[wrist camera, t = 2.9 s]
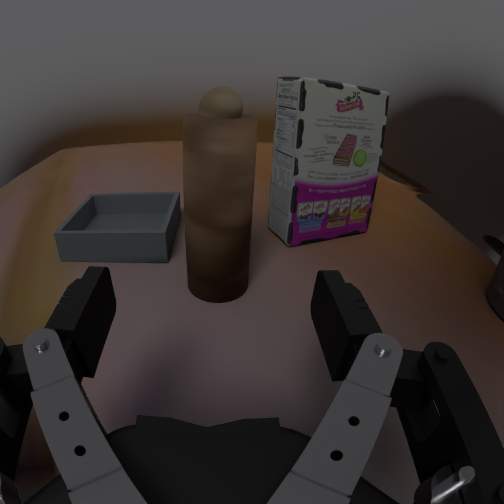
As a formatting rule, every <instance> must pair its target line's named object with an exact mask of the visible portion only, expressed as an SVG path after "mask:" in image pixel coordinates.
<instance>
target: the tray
mask: <svg viewBox="0 0 504 504" xmlns="http://www.w3.org/2000/svg"><path fill="white" fill-rule="evenodd" d="M180 217H181V213H180V192H145V193H110V194H90V195H89V197H88V198H87V199H86V200H85V201H84V202H83V203H82V204H81V205H80V206H79V207H78V208H77V209H76V210H75V211H74V212H73V213H72V214H71V215H70V216H69V217H68V218H67V220H66V221H65V222H64V223H63V224H62V225H61V226H60V227H59V228H58V229H57V231H56V232H55V233H54V235H55V240H56V244H57V248H58V252H59V256H60V259H61V261H84V262H141V263H168V260H169V257H170V253H171V249H172V245H173V242H174V238H175V235H176V231H177V227H178V224H179V220H180Z"/></svg>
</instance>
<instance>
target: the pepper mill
mask: <svg viewBox="0 0 504 504" xmlns="http://www.w3.org/2000/svg"><path fill="white" fill-rule="evenodd" d="M242 111H243V102H242V100H241V97H240V96H239V95H238V93H236V92H235V91H234V90H232V89H230V88H227V87H216V88H213V89H211V90H209V91H208V92H206V93H205V94H204V96H203V97H202V99H201V101H200V105H199V112H200V114H192V115H186V116H184V117H183V185H184V218H185V241H186V260H187V276H188V287H189V290H190V292H191V293H192V294H193V295H194V296H195V297H197V298H199V299H201V300H204V301H207V302H213V303H222V302H229V301H232V300H235V299H237V298H239V297H241V296H242V295H243V294H244V293H245V292H246V290H247V287H248V272H249V256H250V240H251V224H252V208H253V192H254V177H255V161H256V146H257V130H258V117H255V116H251V115H244V114H242Z"/></svg>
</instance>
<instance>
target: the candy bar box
mask: <svg viewBox="0 0 504 504" xmlns="http://www.w3.org/2000/svg"><path fill="white" fill-rule="evenodd" d="M277 80H278V81H277V97H276V114H275V129H274V149H273V161H272V178H271V192H270V206H269V220H268V228H269V229H270V230H271V231H272V232H273V233H274V234H275V235H276V236H278V237H279V238H280V239H281V240H282V241H283V242H284V243H285V244H286V245H287V246H288V247H293V246H298V245H303V244H308V243H313V242H319V241H323V240H328V239H333V238H338V237H343V236H347V235H352V234H357V233H362V232H366V231H367V230H368V224H369V220H370V215H371V210H372V205H373V200H374V195H375V189H376V184H377V178H378V172H379V166H380V159H381V154H382V147H383V141H384V134H385V133H384V132H385V125H386V118H387V109H388V100H389V93H387V92H385V91H381V90H376V89H372V88H367V87H361V86H356V85H351V84H344V83H339V82H333V81H326V80H320V79H311V78H303V77H278V79H277Z"/></svg>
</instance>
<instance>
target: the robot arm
mask: <svg viewBox="0 0 504 504" xmlns="http://www.w3.org/2000/svg"><path fill="white" fill-rule="evenodd" d="M487 297H488V300H489V302H490V304H491V306H492V307H493V308H494V310H495V311H496V312H497V313H498V315H499V316H500V317H501V318H502V319H503V320H504V250H503V253H502V255H501V258H500V260H499V263H498V265H497V267H496V270H495V272H494V274H493V277H492V279H491V281H490V283H489V285H488V288H487ZM115 312H116V298H115V294H114V289H113V285H112V280H111V275H110V271H109V268H108V267H95V266H90V267H88V268H87V270H86V272H85V273H84V275H83V277H82V279H76V280H75V281H74V282H73V283H71V284H70V285H69V286H68V287H67V289H66V291H65V292H64V294H63V297H61V299H60V301H59V304H57V306H56V308H55V310H54V311H53V313H52V315H51V317H50V319H49V321H48V322H47V324H46V326H45V328H43V329H38V330H36V331H34V332H32V333H31V334H29V335H28V336H27V337H26V339H25V340H24V343H23V344H19V345H12V346H6V345H5V343H4V341H3V340H2V338H1V337H0V504H22V499H21V498H20V495H19V490H18V487H17V485H16V483H15V482H14V479H15V473H16V468H17V464H18V459H19V455H20V450H21V446H22V442H23V438H24V434H25V430H26V426H27V423H28V419H29V416H30V412H31V409H32V406H33V404H34V408H35V411H36V414H37V416H38V419H39V422H40V425H41V428H42V430H43V433H44V436H45V438H46V441H47V443H48V446H49V448H50V451H51V453H52V455H53V458H54V460H55V462H56V465H57V467H58V469H59V471H60V474H59V475H58V476H57V477H55V478H54V479H53V480H52V481H51V482H49V483H48V484H47V485H46V486H44V487H43V488H42V489H41V490H39V491H38V492H37V493H36V494H34V495H33V496H32V497H31V498H29V499H28V500H27V501H26V502H24V503H23V504H399V503H398V502H396V501H395V500H393V499H392V498H390V497H389V496H387V495H386V494H385V493H383V492H382V491H380V490H379V489H378V488H376V487H375V486H373V485H372V484H371V483H369V482H368V481H367V480H365V479H364V478H362V477H361V473H362V471H363V469H364V467H365V465H366V463H367V460H368V458H369V456H370V454H371V451H372V449H373V447H374V444H375V442H376V440H377V437H378V435H379V432H380V430H381V427H382V425H383V422H384V419H385V417H386V414H387V411H388V408H389V406H390V407H396V409H397V411H398V414H399V417H400V420H401V423H402V426H403V429H404V432H405V435H406V438H407V442H408V445H409V448H410V451H411V454H412V458H413V461H414V464H415V467H416V471H417V474H418V478H419V481H420V485H419V486H418V487H417V489H416V491H415V494H414V503H413V504H504V448H503V446H502V444H501V441H500V439H499V437H498V434H497V432H496V430H495V428H494V426H493V423H492V421H491V419H490V417H489V415H488V413H487V411H486V409H485V407H484V405H483V403H482V401H481V399H480V397H479V395H478V393H477V391H476V389H475V387H474V385H473V383H472V381H471V379H470V377H469V376H468V374H467V372H466V370H465V368H464V366H463V365H462V363H461V361H460V359H459V358H458V356H457V354H456V352H455V351H454V350H453V349H452V348H451V347H450V346H448V345H446V344H444V343H441V342H431V343H429V344H427V345H426V347H425V349H424V351H423V352H419V351H412V350H406V349H402V346H401V344H400V343H399V342H398V341H397V340H396V339H395V338H393V337H392V336H390V335H387V334H383V332H382V331H381V329H380V327H379V325H378V323H377V321H376V319H375V317H374V316H373V314H372V312H371V310H370V309H369V306H368V305H367V303H366V302H365V299H364V297H363V296H362V294H361V292H360V291H359V290H358V289H357V288H356V287H355V286H354V285H352V284H351V283H345V281H344V280H343V278H342V276H341V274H340V272H339V271H338V270H320V271H318V273H317V277H316V282H315V286H314V291H313V296H312V300H311V317H312V320H313V323H314V326H315V329H316V332H317V335H318V338H319V341H320V344H321V348H322V351H323V354H324V357H325V360H326V363H327V366H328V369H329V372H330V376H331V379H332V382H334V381H343V383H342V385H341V387H340V389H339V391H338V393H337V395H336V396H335V398H334V400H333V402H332V404H331V405H330V407H329V409H328V411H327V413H326V414H325V416H324V418H323V420H322V421H321V423H320V425H319V426H318V428H317V430H316V432H315V433H314V435H313V436H312V438H310V437H309V436H307V435H305V434H303V433H301V432H298V431H296V430H293V429H289V428H285V427H280V424H279V418H278V417H277V418H258V419H242V420H237V421H233V422H229V423H225V424H220V425H215V426H211V427H204V426H200V425H196V424H192V423H188V422H184V421H181V420H177V419H173V418H166V417H153V416H142V415H137V419H136V425H130V426H126V427H122V428H120V429H117V430H115V431H113V432H111V433H109V434H107V432H106V431H105V429H104V427H103V425H102V424H101V422H100V420H99V418H98V416H97V415H96V413H95V411H94V409H93V407H92V405H91V403H90V401H89V399H88V397H87V395H86V393H85V391H84V389H83V387H82V385H81V382H82V379H83V377H90V378H94V375H95V372H96V369H97V366H98V363H99V360H100V356H101V353H102V350H103V347H104V344H105V341H106V339H107V336H108V333H109V330H110V327H111V324H112V322H113V319H114V316H115ZM433 399H434V401H435V404H436V406H437V408H438V411H439V413H438V411H437V409H436V406H435V404H434V401H433ZM439 414H440V416H439Z"/></svg>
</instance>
